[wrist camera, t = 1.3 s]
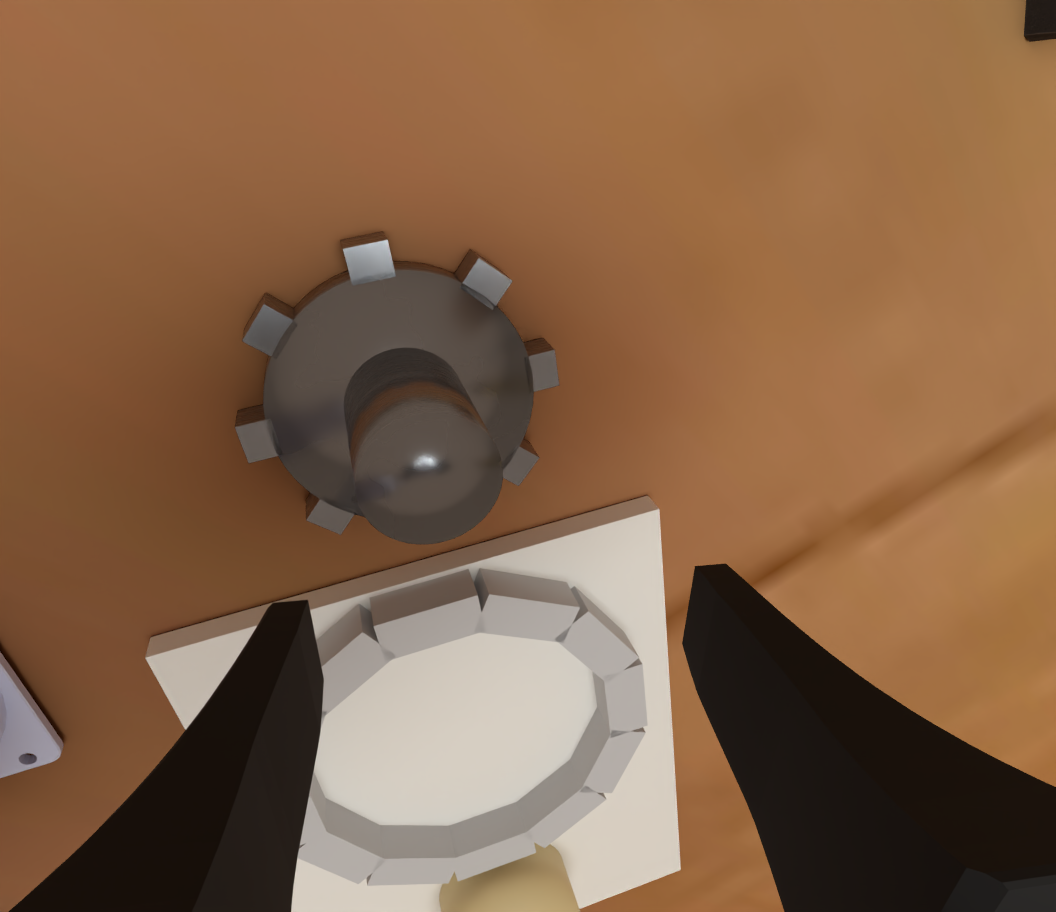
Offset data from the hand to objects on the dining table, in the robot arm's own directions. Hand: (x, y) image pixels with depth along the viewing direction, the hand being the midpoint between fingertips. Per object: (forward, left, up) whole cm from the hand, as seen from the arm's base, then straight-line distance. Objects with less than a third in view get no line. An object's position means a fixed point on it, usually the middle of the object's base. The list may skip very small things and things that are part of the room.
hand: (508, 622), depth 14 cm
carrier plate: (-2, -18, -11) cm, 21 cm away
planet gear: (-1, 0, -11) cm, 11 cm away
